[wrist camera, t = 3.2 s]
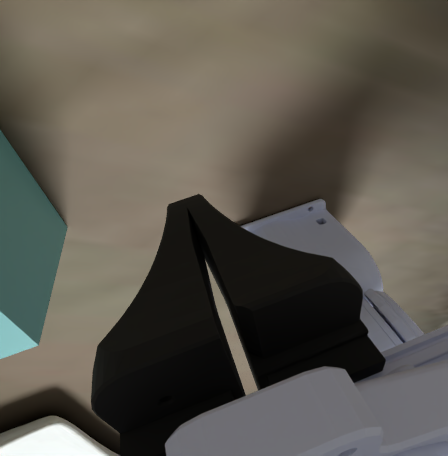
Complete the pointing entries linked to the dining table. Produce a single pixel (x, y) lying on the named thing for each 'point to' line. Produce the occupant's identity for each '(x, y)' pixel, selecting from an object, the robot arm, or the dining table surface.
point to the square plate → (50, 440)
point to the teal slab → (25, 253)
